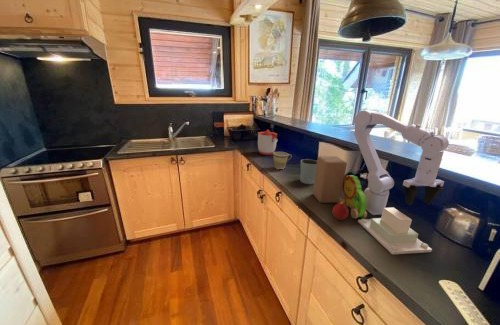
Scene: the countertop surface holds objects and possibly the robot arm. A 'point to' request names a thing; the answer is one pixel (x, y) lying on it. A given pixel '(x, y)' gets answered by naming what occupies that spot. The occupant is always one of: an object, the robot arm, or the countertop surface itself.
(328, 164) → the block
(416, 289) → the countertop surface
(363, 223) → the white studded slab
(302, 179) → the grey cylindrical container
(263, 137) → the citrus juicer
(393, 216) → the cream brick
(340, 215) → the onion
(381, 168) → the robot arm
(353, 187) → the toy lion
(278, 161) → the ceramic cup
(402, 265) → the countertop surface
